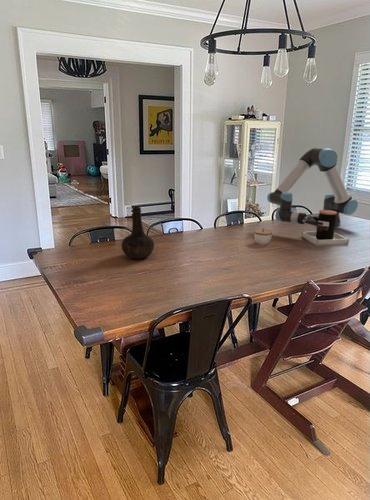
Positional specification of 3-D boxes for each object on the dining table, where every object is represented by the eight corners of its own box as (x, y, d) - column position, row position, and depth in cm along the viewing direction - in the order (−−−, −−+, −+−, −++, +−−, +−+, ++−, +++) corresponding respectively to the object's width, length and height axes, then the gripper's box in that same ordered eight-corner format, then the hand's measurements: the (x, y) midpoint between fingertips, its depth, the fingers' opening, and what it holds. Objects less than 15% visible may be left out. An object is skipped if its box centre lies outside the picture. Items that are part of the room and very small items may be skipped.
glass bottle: (147, 250, 219) (146, 203, 210) (159, 259, 203) (158, 208, 195) (118, 254, 211) (115, 205, 203) (127, 263, 196) (125, 211, 187)
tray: (330, 235, 253) (331, 230, 252) (348, 244, 233) (349, 239, 232) (301, 236, 250) (302, 231, 249) (316, 245, 230) (317, 240, 229)
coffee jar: (311, 237, 244) (315, 210, 238) (324, 236, 248) (327, 209, 242) (324, 242, 234) (327, 213, 229) (336, 240, 239) (340, 212, 233)
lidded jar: (266, 246, 227) (267, 231, 224) (250, 243, 233) (251, 229, 231) (274, 243, 235) (275, 228, 233) (258, 240, 242) (259, 226, 239)
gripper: (304, 220, 258) (336, 224, 246) (291, 226, 239) (325, 232, 227) (305, 209, 256) (338, 213, 244) (292, 215, 237) (326, 220, 225)
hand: (331, 222), depth 236 cm, fingers open, 13 cm apart
